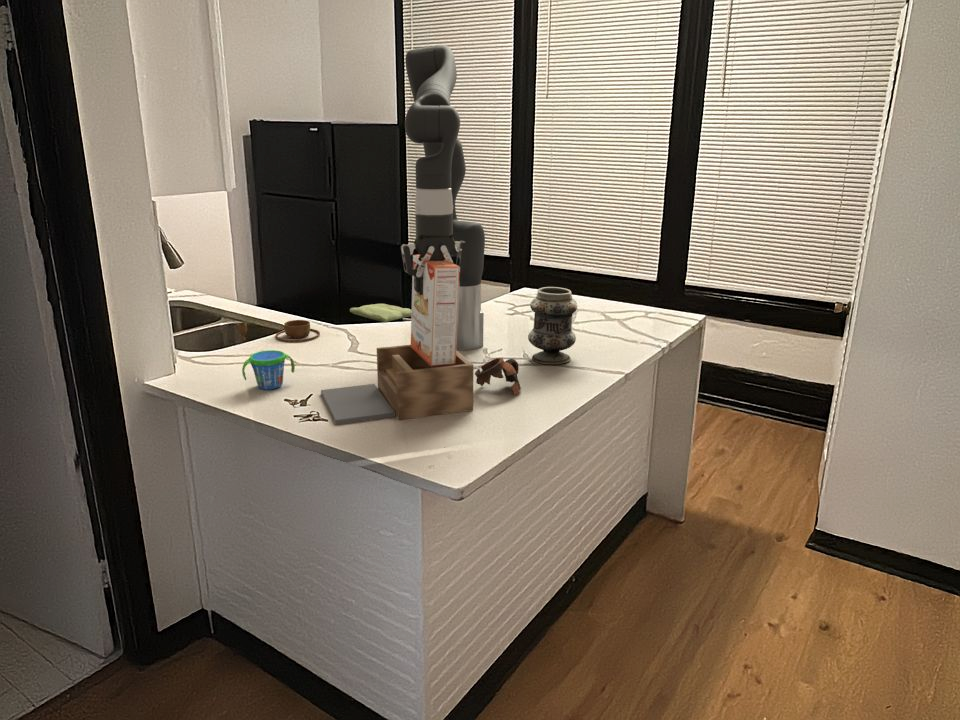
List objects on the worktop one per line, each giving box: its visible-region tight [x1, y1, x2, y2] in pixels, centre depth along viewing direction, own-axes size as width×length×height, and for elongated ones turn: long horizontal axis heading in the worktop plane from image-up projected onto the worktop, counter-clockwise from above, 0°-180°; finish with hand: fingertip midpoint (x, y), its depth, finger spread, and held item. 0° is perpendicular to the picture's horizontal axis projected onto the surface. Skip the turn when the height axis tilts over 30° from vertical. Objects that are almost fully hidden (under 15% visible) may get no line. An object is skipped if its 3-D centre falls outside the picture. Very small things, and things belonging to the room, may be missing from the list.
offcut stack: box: [386, 355, 412, 387], centre depth 153 cm, size 4×12×9 cm, turn 21°
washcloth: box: [349, 303, 412, 323], centre depth 223 cm, size 13×18×3 cm
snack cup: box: [241, 349, 296, 391], centre depth 162 cm, size 11×8×7 cm
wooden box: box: [376, 344, 474, 421], centre depth 154 cm, size 16×18×10 cm
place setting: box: [236, 319, 321, 343], centre depth 200 cm, size 18×20×6 cm
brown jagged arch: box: [474, 357, 522, 396], centre depth 162 cm, size 12×9×8 cm
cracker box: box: [410, 253, 460, 366], centre depth 151 cm, size 14×6×21 cm, turn 22°
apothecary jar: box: [527, 286, 578, 366], centre depth 181 cm, size 12×12×18 cm
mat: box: [320, 383, 396, 425], centre depth 152 cm, size 12×18×1 cm, turn 21°
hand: (435, 292), depth 149 cm, fingers closed on cracker box, 6 cm apart
